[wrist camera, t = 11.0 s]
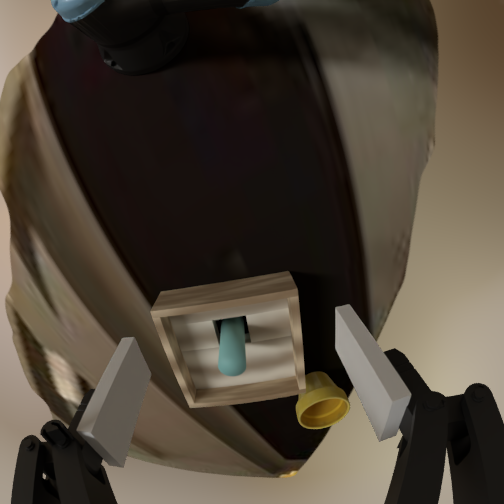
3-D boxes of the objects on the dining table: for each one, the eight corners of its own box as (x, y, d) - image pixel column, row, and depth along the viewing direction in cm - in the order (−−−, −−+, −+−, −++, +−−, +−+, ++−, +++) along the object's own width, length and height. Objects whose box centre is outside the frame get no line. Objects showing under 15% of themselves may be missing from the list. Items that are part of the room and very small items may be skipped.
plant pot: (317, 402, 56) (327, 433, 47) (281, 390, 54) (287, 424, 45) (345, 372, 54) (360, 402, 45) (309, 358, 52) (321, 391, 43)
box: (161, 291, 46) (150, 311, 39) (288, 270, 46) (297, 288, 39) (193, 383, 52) (190, 407, 46) (299, 369, 53) (306, 392, 46)
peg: (224, 333, 49) (221, 377, 38) (219, 314, 48) (215, 357, 36) (245, 330, 49) (248, 374, 38) (241, 311, 48) (243, 354, 36)
